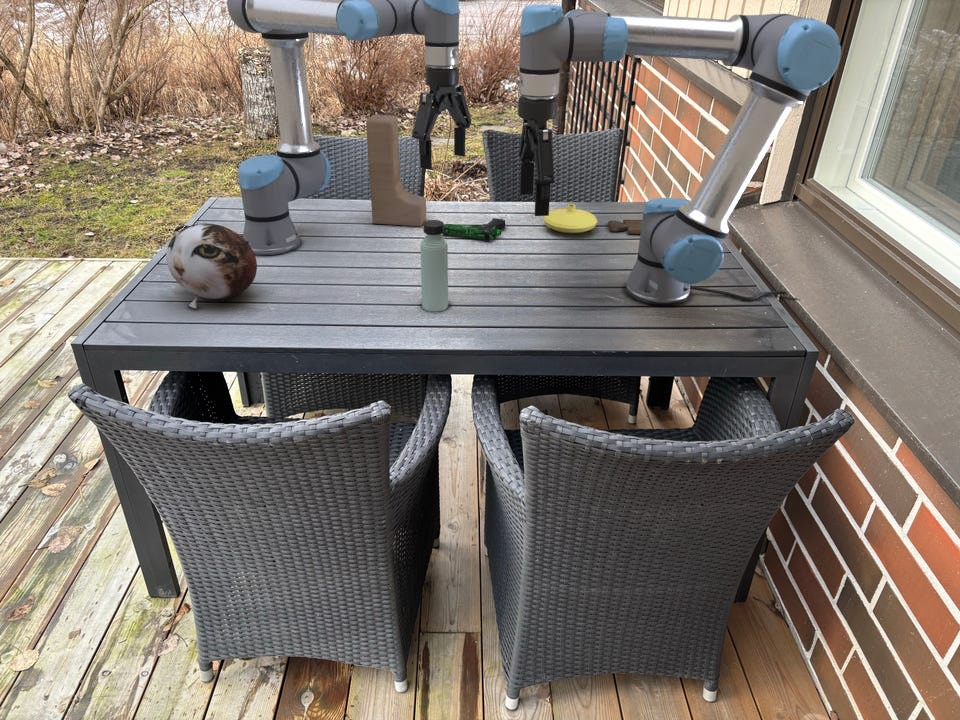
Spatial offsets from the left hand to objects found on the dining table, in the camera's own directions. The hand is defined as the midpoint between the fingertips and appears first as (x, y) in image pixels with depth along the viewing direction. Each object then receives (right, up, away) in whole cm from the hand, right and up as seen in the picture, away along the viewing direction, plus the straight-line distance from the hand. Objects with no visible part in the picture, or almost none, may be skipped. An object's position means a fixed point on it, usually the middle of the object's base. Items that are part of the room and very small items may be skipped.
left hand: (443, 161), depth 169 cm
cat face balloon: (-53, -32, 0) cm, 62 cm away
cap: (-1, -17, -13) cm, 22 cm away
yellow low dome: (+35, -8, +42) cm, 55 cm away
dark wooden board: (+60, -8, +42) cm, 74 cm away
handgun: (+8, -10, +38) cm, 40 cm away
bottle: (-2, -34, -3) cm, 35 cm away
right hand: (+20, -15, -23) cm, 34 cm away
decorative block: (-15, -6, +45) cm, 48 cm away
